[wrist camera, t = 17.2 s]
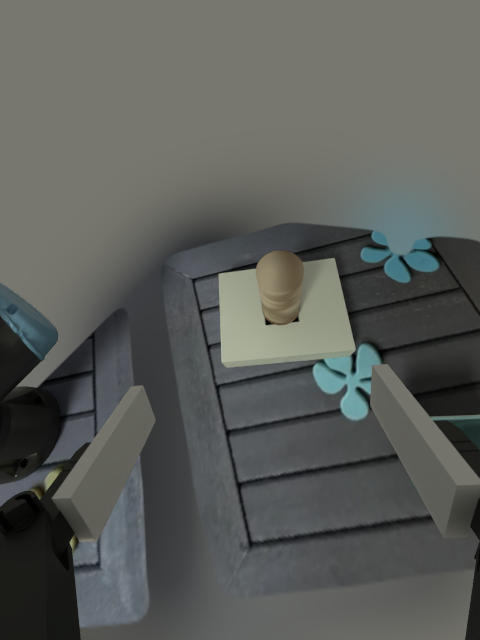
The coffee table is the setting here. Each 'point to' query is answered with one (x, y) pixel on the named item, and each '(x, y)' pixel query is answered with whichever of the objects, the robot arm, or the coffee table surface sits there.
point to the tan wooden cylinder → (280, 286)
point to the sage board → (294, 338)
